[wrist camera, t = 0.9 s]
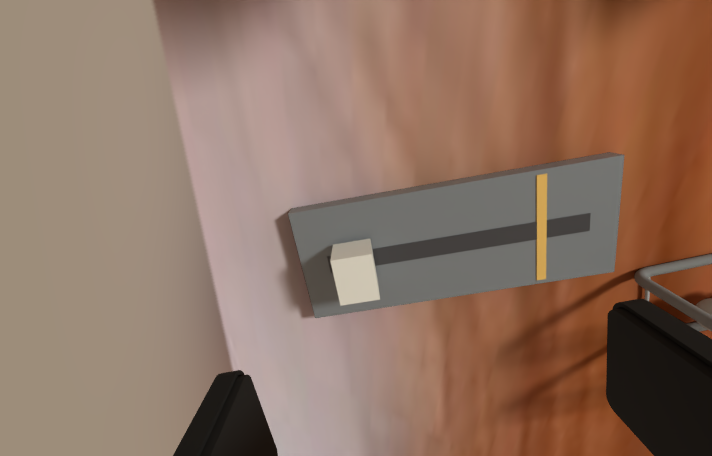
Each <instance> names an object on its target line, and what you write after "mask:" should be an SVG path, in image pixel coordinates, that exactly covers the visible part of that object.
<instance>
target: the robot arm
mask: <svg viewBox="0 0 712 456" xmlns="http://www.w3.org/2000/svg"><path fill="white" fill-rule="evenodd" d="M606 395H607V400H608V402H609V404H610V406H611V408H612V409H613V411H614V412H615V413H616V414H617V415H618V416H619V417H620V418H621V420H622V421H623V422H624V423H625V424H626V425H627V426H628V427H629V428H630V430H631V431H632V432H633V433H634V434H635V435H636V436H637V437H638V438H639V439H640V441H641V442H642V443H643V444H644V445H645V446H646V447H647V448H648V449H649V451H650V452H651V453H652V454H653V455H654V456H712V339H710V338H709V337H707V336H705V335H704V334H702V333H700V332H699V331H697V330H695V329H694V328H692V327H690V326H689V325H687V324H685V323H684V322H682V321H680V320H679V319H677V318H675V317H674V316H672V315H670V314H669V313H667V312H665V311H664V310H662V309H660V308H659V307H657V306H655V305H654V304H652V303H651V302H649V301H647V300H644V299H636V300H631V301H625V302H619V303H616V304H615V305H614V306H613V310H611V311H609V313H608V331H607V384H606ZM173 456H278V454H277V448H276V445H275V443H274V440H273V437H272V434H271V432H270V429H269V426H268V423H267V421H266V418H265V415H264V412H263V410H262V407H261V404H260V401H259V399H258V396H257V393H256V390H255V388H254V385H253V382H252V379H251V377H250V376H249V375H244V373H243V372H242V371H241V370H238V371H232V372H227V373H221V374H219V375H217V377H216V378H215V380H214V382H213V383H212V385H211V387H210V389H209V391H208V392H207V394H206V396H205V398H204V400H203V402H202V403H201V406H200V407H199V409H198V411H197V413H196V415H195V416H194V418H193V420H192V422H191V424H190V426H189V427H188V429H187V431H186V433H185V435H184V436H183V438H182V440H181V442H180V444H179V446H178V448H177V449H176V451H175V453H174V455H173Z"/></svg>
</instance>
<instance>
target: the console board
mask: <svg viewBox="0 0 712 456" xmlns="http://www.w3.org/2000/svg"><path fill="white" fill-rule="evenodd" d="M623 164H624V155H622V154H617V153H611V152H609V153H603V154H598V155H592V156H586V157H581V158H575V159H569V160H563V161H558V162H552V163H546V164H541V165H535V166H529V167H524V168H518V169H512V170H507V171H501V172H495V173H490V174H484V175H478V176H473V177H467V178H461V179H456V180H450V181H444V182H439V183H433V184H427V185H422V186H416V187H410V188H405V189H399V190H393V191H388V192H382V193H376V194H371V195H365V196H359V197H354V198H348V199H342V200H337V201H331V202H325V203H320V204H314V205H308V206H303V207H297V208H291V210H290V212H289V213H288V216H289V219H290V223H291V227H292V231H293V235H294V239H295V242H296V246H297V250H298V254H299V258H300V262H301V265H302V269H303V273H304V277H305V281H306V285H307V288H308V292H309V296H310V300H311V304H312V308H313V311H314V315H315V318H320V317H326V316H333V315H339V314H346V313H352V312H359V311H365V310H371V309H378V308H384V307H391V306H397V305H404V304H410V303H416V302H423V301H429V300H436V299H442V298H449V297H455V296H461V295H468V294H474V293H481V292H487V291H493V290H500V289H506V288H513V287H519V286H526V285H532V284H538V283H545V282H551V281H558V280H564V279H571V278H577V277H583V276H590V275H596V274H603V273H609V272H614V268H615V257H616V245H617V234H618V222H619V211H620V199H621V187H622V176H623ZM364 239H370V240H371V245H372V251H373V257H374V262H375V268H376V273H377V279H378V286H379V294H380V300H374V301H368V302H361V303H355V304H348V305H342V306H340V301H339V297H338V293H337V288H336V284H335V279H334V275H333V271H332V266H331V262H330V259H331V253H332V247H333V245H334V244H340V243H346V242H352V241H358V240H364Z"/></svg>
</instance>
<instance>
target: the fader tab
mask: <svg viewBox="0 0 712 456" xmlns="http://www.w3.org/2000/svg"><path fill="white" fill-rule="evenodd" d="M330 262H331V266H332V271H333V275H334V279H335V284H336V288H337V293H338V297H339V301H340V306H342V305H348V304H355V303H361V302H368V301H374V300H380V294H379V286H378V279H377V273H376V268H375V262H374V257H373V251H372V245H371V240H370V239H364V240H358V241H352V242H346V243H340V244H334V245H333V247H332V253H331V259H330Z"/></svg>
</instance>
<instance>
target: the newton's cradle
mask: <svg viewBox="0 0 712 456" xmlns="http://www.w3.org/2000/svg"><path fill="white" fill-rule="evenodd" d="M709 264H712V254H707V255H702V256H697V257H692V258H687V259H683V260H678V261H673V262H668V263H663V264H659V265H654V266H649V267H645V268H642V269H640V270H638V271H637V272H636V273H635V276H634V278H635V281H636V283H638V284H639V285H640V286H641V287H643V288H644V289H645V300H647V301H649V292H651V293H652V294H654V295H656V296H657V297H659V298H660V299H662V300H664V301H665V302H667V303H668V304H670V305H672V306H673V307H675V308H676V309H678V310H680V311H681V312H683V313H684V314H686V315H688V316H689V317H691V318H692V319H694V320H696V321H697V322H693V323H687V325H689V326H690V327H692V328H694V329H695V330H697V331H704V330H710V331H712V298H708V299H704V300H702V301H700V302H698V303H697V304H696V306H695V305H693V304H691V303H689V302H688V301H686V300H684V299H683V298H681V297H679V296H677V295H676V294H674V293H672V292H671V291H669V290H667V289H665V288H664V287H662V286H660V285H659V284H657V283H655V282H653V281H652V280H650V276H655V275H660V274H665V273H670V272H675V271H680V270H684V269H689V268H694V267H699V266H704V265H709Z"/></svg>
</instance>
